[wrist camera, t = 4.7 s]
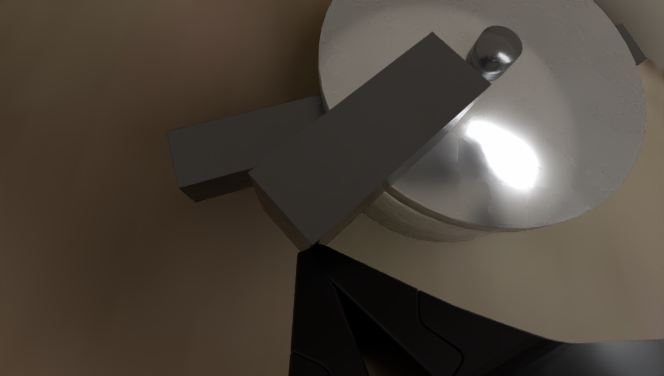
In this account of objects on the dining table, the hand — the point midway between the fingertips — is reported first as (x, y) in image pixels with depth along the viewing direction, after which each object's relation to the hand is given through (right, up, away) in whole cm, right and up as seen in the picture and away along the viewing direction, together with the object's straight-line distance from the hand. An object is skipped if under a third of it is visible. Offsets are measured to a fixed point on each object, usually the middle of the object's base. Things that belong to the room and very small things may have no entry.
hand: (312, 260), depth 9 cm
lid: (+6, +6, +6) cm, 10 cm away
